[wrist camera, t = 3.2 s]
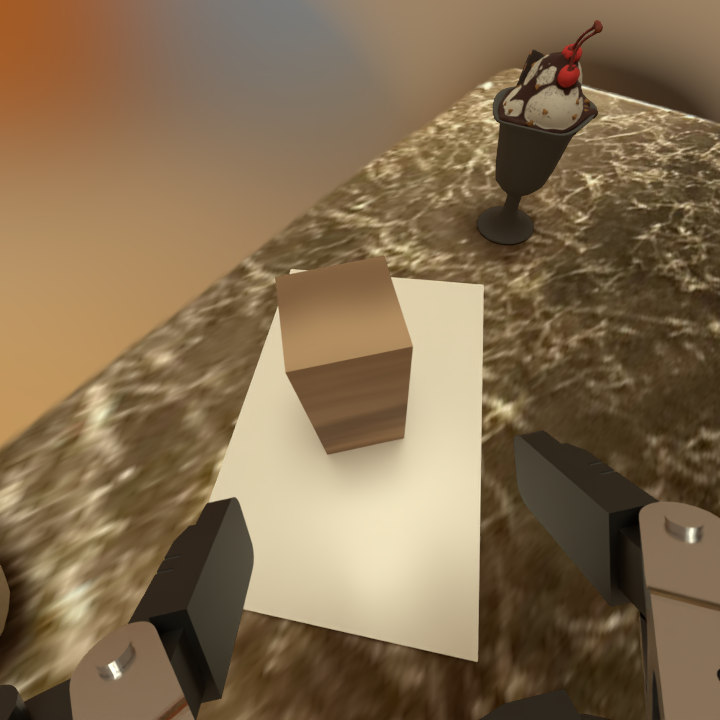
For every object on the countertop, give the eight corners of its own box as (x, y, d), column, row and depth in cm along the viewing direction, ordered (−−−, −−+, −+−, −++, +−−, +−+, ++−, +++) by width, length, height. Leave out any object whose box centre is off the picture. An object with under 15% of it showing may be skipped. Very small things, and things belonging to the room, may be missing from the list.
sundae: (528, 262, 32) (624, 44, 19) (455, 236, 34) (495, 24, 21) (554, 215, 34) (653, -4, 21) (484, 194, 36) (536, -17, 24)
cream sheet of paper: (293, 275, 33) (291, 269, 32) (481, 291, 30) (483, 284, 30) (183, 593, 21) (176, 594, 20) (474, 659, 19) (477, 662, 18)
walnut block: (404, 438, 24) (413, 346, 14) (327, 454, 24) (285, 372, 14) (386, 371, 26) (384, 255, 17) (316, 385, 26) (275, 276, 17)
